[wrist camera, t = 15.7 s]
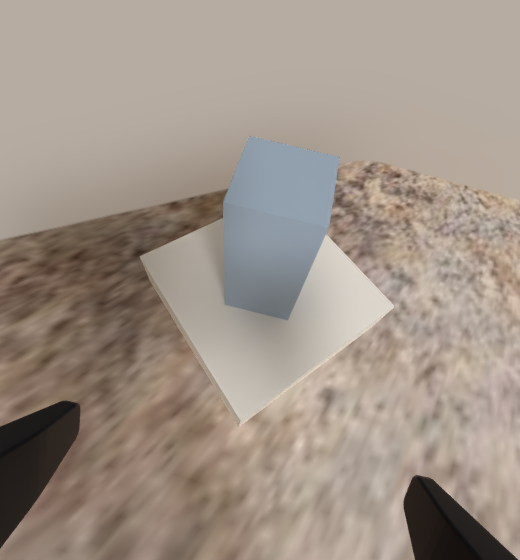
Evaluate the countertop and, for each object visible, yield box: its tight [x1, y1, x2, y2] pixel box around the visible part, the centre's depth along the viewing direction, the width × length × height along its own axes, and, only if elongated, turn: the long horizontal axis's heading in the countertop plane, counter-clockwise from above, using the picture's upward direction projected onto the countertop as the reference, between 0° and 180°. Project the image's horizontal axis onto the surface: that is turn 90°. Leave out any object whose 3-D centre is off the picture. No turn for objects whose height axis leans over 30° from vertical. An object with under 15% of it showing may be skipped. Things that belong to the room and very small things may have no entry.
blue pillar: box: [223, 136, 340, 320], centre depth 16 cm, size 4×4×9 cm
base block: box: [139, 218, 395, 427], centre depth 22 cm, size 12×12×4 cm
